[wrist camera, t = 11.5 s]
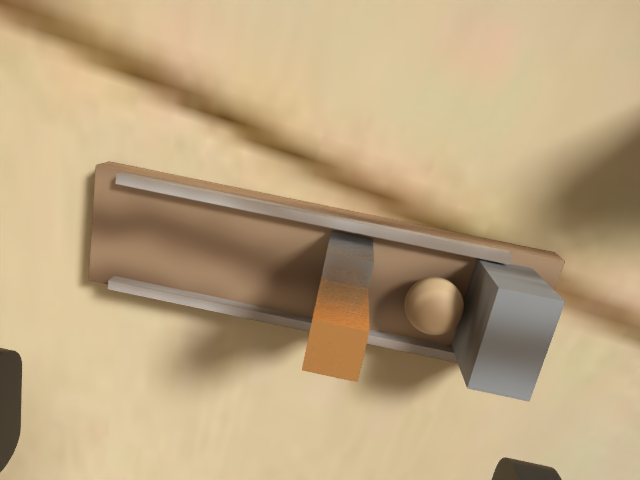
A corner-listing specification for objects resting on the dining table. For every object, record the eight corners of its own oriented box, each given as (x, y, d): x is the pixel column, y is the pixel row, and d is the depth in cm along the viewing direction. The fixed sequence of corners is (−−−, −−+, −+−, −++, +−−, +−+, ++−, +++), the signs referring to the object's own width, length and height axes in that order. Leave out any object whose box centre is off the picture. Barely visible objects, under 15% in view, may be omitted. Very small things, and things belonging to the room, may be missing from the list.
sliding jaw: (331, 230, 36) (318, 287, 26) (372, 239, 36) (377, 299, 25) (314, 314, 38) (295, 399, 27) (353, 322, 38) (350, 410, 27)
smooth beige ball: (409, 263, 37) (415, 283, 33) (464, 275, 37) (476, 296, 33) (396, 313, 38) (400, 338, 34) (449, 324, 38) (459, 350, 34)
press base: (109, 161, 38) (45, 178, 31) (554, 252, 38) (604, 293, 30) (101, 271, 41) (41, 312, 33) (518, 358, 40) (555, 421, 32)
